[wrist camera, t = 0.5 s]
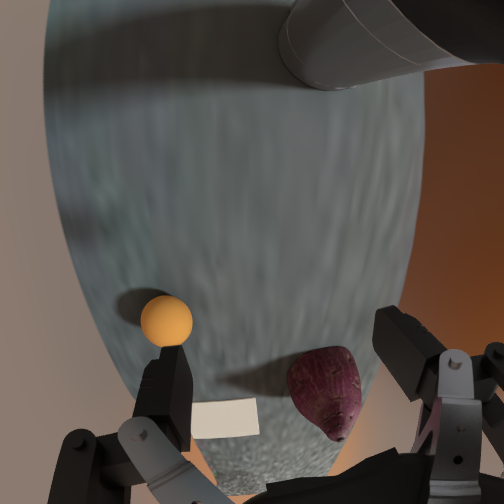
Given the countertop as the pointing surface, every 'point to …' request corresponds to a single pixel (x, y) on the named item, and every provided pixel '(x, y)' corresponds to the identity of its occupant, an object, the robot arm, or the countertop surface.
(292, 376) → the vegetable
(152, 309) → the ball
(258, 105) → the countertop surface
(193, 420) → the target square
